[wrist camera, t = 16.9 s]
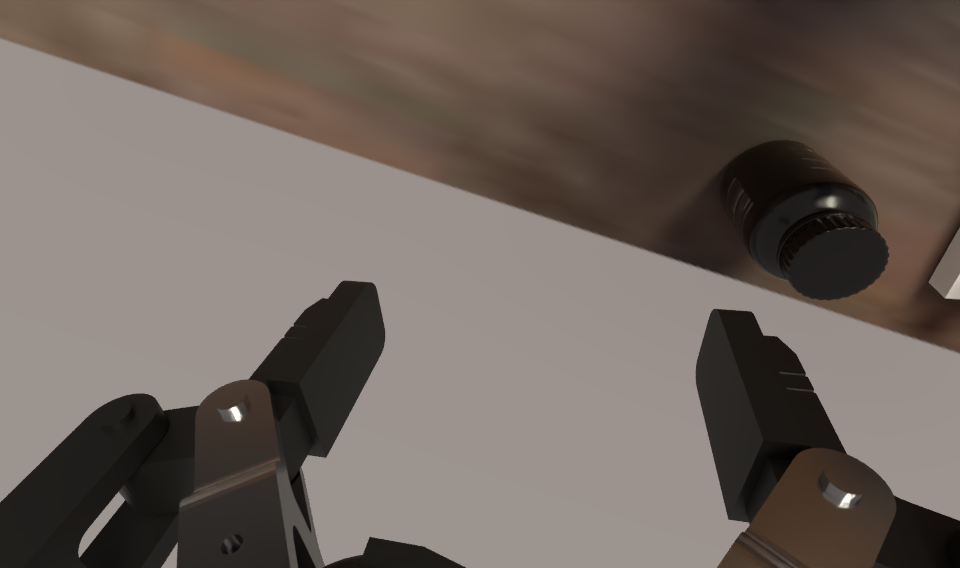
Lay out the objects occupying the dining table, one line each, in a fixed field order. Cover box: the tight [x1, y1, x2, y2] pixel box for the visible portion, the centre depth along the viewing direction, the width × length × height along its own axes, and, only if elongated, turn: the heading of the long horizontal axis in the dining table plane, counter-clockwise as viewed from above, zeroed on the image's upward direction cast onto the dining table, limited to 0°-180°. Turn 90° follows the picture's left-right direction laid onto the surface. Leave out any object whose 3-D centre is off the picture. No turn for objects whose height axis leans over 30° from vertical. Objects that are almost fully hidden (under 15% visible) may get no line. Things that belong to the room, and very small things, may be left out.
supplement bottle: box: [721, 140, 889, 300], centre depth 31 cm, size 7×7×12 cm
